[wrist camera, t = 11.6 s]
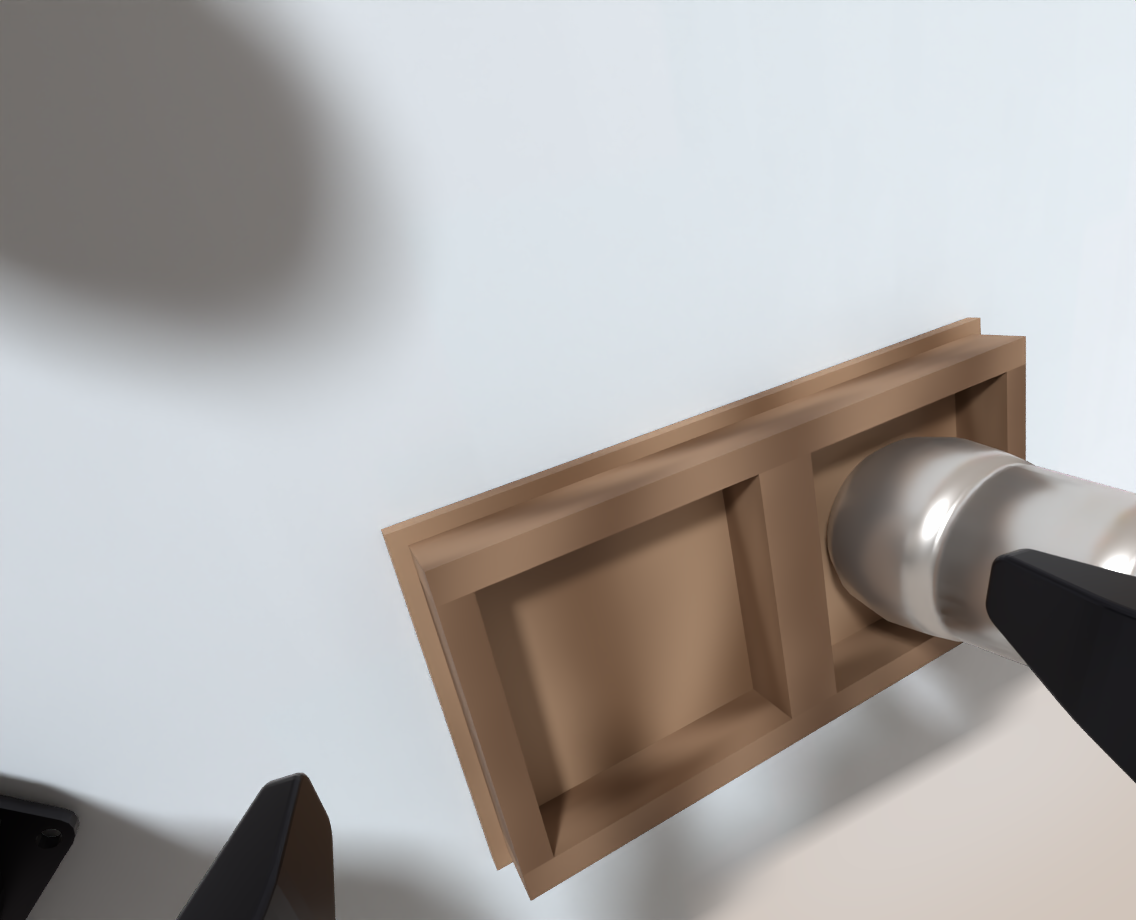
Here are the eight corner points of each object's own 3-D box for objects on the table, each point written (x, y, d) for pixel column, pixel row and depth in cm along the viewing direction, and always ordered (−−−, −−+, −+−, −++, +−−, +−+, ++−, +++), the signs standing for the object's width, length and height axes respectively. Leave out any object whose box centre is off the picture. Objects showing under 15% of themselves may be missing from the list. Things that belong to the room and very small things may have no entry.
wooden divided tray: (492, 859, 22) (519, 922, 19) (381, 529, 18) (397, 561, 16) (974, 587, 29) (1033, 610, 27) (967, 317, 26) (1034, 318, 23)
